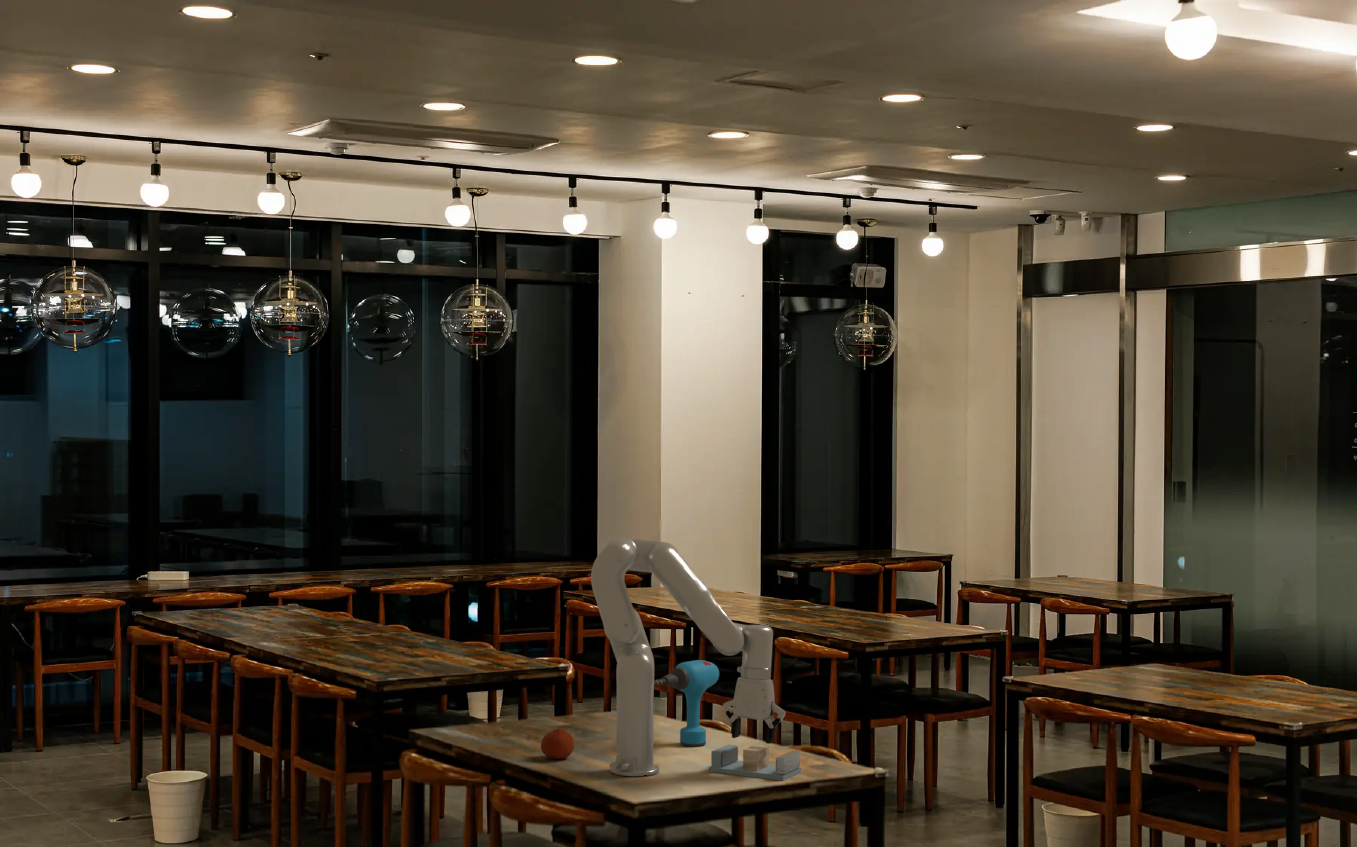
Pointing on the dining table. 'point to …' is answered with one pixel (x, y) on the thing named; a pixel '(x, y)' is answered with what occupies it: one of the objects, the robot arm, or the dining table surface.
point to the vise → (729, 764)
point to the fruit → (557, 744)
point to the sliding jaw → (788, 762)
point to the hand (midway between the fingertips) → (752, 739)
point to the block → (756, 757)
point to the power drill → (692, 695)
